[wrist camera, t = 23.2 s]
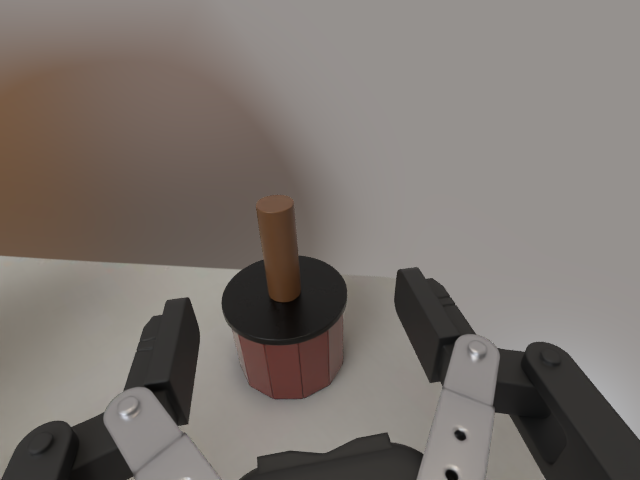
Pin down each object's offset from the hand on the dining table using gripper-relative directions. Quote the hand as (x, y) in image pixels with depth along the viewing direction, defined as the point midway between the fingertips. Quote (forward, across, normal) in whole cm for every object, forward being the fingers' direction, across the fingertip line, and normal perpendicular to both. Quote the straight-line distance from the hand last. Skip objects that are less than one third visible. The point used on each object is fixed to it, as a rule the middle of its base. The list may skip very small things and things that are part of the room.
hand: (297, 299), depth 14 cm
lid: (+12, 0, +10) cm, 16 cm away
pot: (+12, 0, +17) cm, 21 cm away
